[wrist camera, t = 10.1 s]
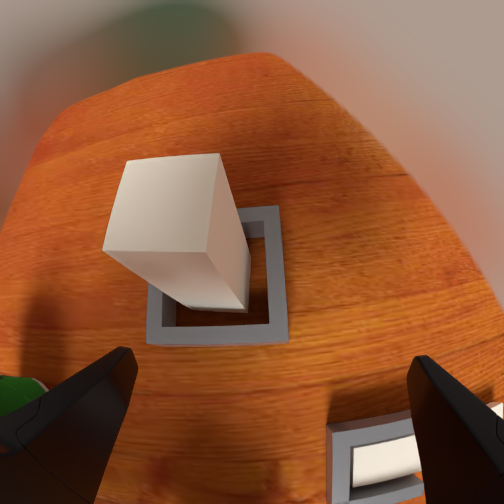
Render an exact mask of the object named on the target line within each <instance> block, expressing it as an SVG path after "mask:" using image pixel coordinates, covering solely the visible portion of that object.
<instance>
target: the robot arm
mask: <svg viewBox="0 0 504 504" xmlns="http://www.w3.org/2000/svg"><path fill="white" fill-rule="evenodd" d="M137 373H138V365H137V362H136V359H135V357H134V354H133V351H132V349H131V348H128V347H122V346H120V347H117V348H116V349H114V350H113V351H111V352H109V353H108V354H106V355H105V356H103V357H102V358H100V359H98V360H97V361H95V362H94V363H92V364H90V365H89V366H87V367H86V368H84V369H82V370H81V371H79V372H78V373H76V374H74V375H73V376H71V377H70V378H68V379H66V380H65V381H63V382H62V383H60V384H58V385H57V386H55V387H54V388H52V389H50V390H49V391H47V392H46V393H44V394H42V396H39V397H37V398H36V399H34V400H33V401H31V402H29V403H27V404H26V405H24V406H22V407H20V408H18V409H17V410H15V411H13V412H11V413H9V414H7V415H5V416H2V417H0V504H94V501H95V498H96V495H97V492H98V489H99V486H100V483H101V480H102V477H103V474H104V471H105V468H106V466H107V463H108V460H109V457H110V454H111V452H112V449H113V446H114V443H115V441H116V438H117V435H118V433H119V430H120V427H121V425H122V422H123V420H124V417H125V415H126V412H127V409H128V406H129V402H130V398H131V395H132V391H133V387H134V384H135V380H136V377H137ZM407 386H408V394H409V402H410V410H411V418H412V424H413V429H414V434H415V438H416V443H417V448H418V453H419V459H420V464H421V470H422V476H423V483H424V490H425V497H426V504H504V420H503V419H502V418H501V417H500V416H499V415H497V414H496V413H495V412H494V411H493V410H492V409H491V408H489V407H488V406H487V405H486V404H485V403H484V402H482V401H481V400H480V399H479V398H478V397H477V396H475V395H474V394H473V393H472V392H471V391H470V390H468V389H467V388H466V387H465V386H464V385H462V384H461V383H460V382H459V381H458V380H456V379H455V378H454V377H453V376H452V375H450V374H449V373H448V372H447V371H446V370H444V369H443V368H442V367H441V366H440V365H438V364H437V363H436V362H435V361H434V360H432V359H431V358H430V357H429V356H427V355H420V356H415V357H414V359H413V361H412V363H411V366H410V368H409V371H408V373H407Z"/></svg>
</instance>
